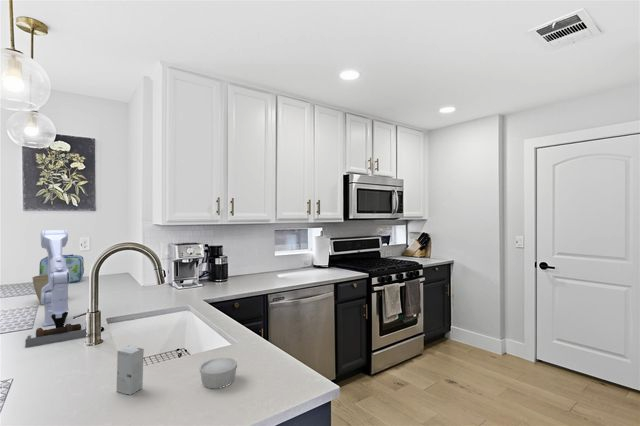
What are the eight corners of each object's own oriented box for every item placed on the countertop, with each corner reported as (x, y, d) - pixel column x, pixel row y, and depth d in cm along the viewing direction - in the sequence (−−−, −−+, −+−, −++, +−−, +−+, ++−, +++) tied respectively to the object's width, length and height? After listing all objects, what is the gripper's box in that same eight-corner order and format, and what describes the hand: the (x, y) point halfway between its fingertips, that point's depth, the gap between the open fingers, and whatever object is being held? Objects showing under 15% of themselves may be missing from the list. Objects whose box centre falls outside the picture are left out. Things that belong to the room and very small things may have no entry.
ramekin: (207, 373, 110) (207, 356, 110) (241, 373, 110) (241, 357, 110) (193, 391, 99) (193, 373, 99) (231, 391, 99) (231, 373, 99)
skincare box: (115, 391, 99) (115, 350, 99) (129, 384, 103) (129, 344, 103) (130, 395, 96) (130, 353, 96) (144, 388, 101) (144, 347, 101)
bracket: (28, 341, 137) (28, 334, 137) (87, 331, 148) (87, 324, 148) (25, 347, 131) (25, 339, 131) (88, 336, 143) (88, 329, 143)
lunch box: (85, 279, 263) (85, 252, 263) (82, 282, 253) (81, 254, 253) (43, 282, 252) (43, 254, 252) (38, 285, 242) (38, 256, 242)
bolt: (80, 336, 149) (37, 345, 137) (78, 328, 152) (34, 336, 140) (83, 325, 147) (39, 334, 135) (80, 318, 150) (37, 325, 138)
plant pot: (64, 304, 193) (64, 276, 193) (30, 308, 184) (30, 279, 184) (66, 298, 205) (66, 272, 205) (34, 302, 197) (34, 275, 197)
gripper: (49, 297, 150) (49, 327, 150) (46, 304, 138) (46, 337, 138) (69, 294, 154) (69, 324, 154) (67, 301, 142) (67, 334, 142)
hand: (59, 330), depth 146 cm, fingers closed
